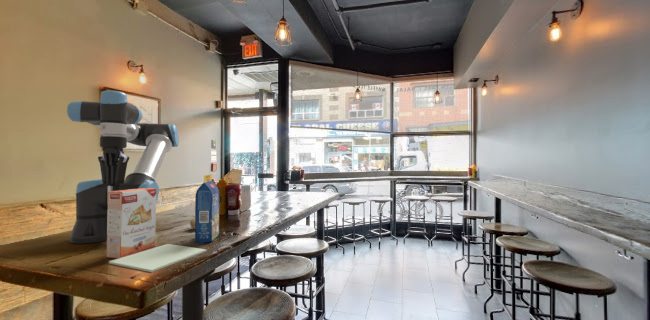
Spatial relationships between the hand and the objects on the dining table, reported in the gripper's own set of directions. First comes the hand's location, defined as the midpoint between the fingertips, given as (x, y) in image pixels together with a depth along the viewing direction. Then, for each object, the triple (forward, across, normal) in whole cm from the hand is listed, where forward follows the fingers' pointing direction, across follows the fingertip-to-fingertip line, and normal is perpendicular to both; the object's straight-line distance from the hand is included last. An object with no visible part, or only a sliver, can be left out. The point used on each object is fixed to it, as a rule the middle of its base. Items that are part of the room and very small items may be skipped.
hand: (113, 204), depth 101 cm
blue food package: (+16, +20, +23) cm, 34 cm away
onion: (+16, +5, +34) cm, 38 cm away
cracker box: (+16, +10, 0) cm, 18 cm away
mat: (+15, +23, 0) cm, 28 cm away
